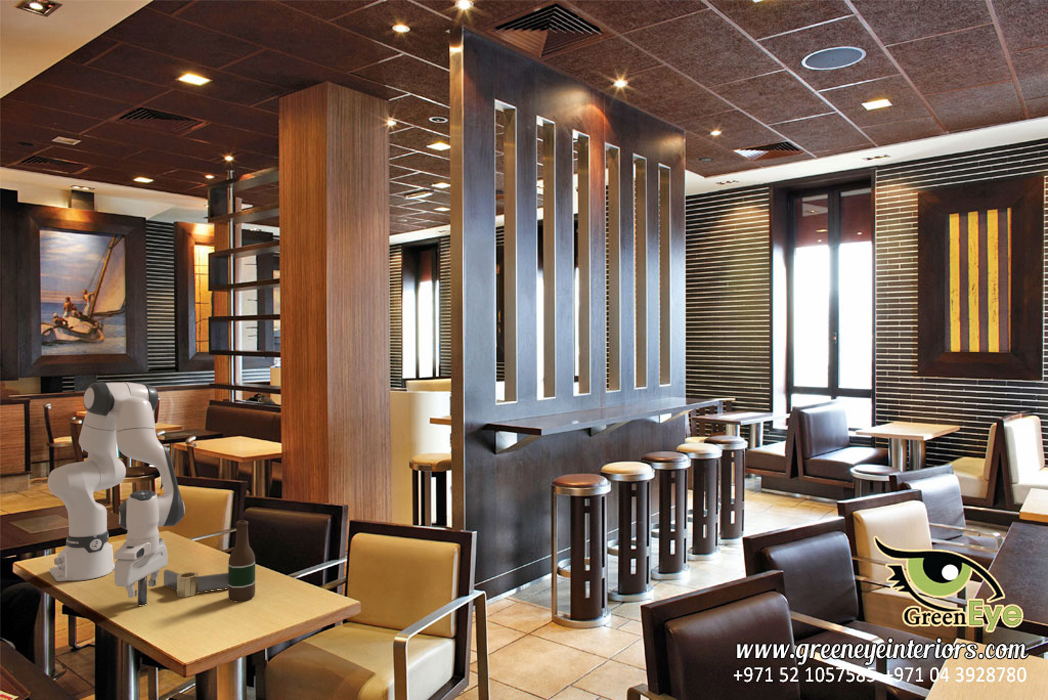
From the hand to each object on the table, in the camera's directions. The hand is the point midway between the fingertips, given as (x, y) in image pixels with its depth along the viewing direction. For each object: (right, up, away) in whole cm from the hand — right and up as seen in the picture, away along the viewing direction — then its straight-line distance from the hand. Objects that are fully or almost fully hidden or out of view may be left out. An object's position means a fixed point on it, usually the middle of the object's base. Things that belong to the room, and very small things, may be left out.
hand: (142, 591), depth 208 cm
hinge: (+9, -4, +15) cm, 18 cm away
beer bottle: (+28, -5, +6) cm, 29 cm away
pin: (0, -4, 0) cm, 4 cm away
